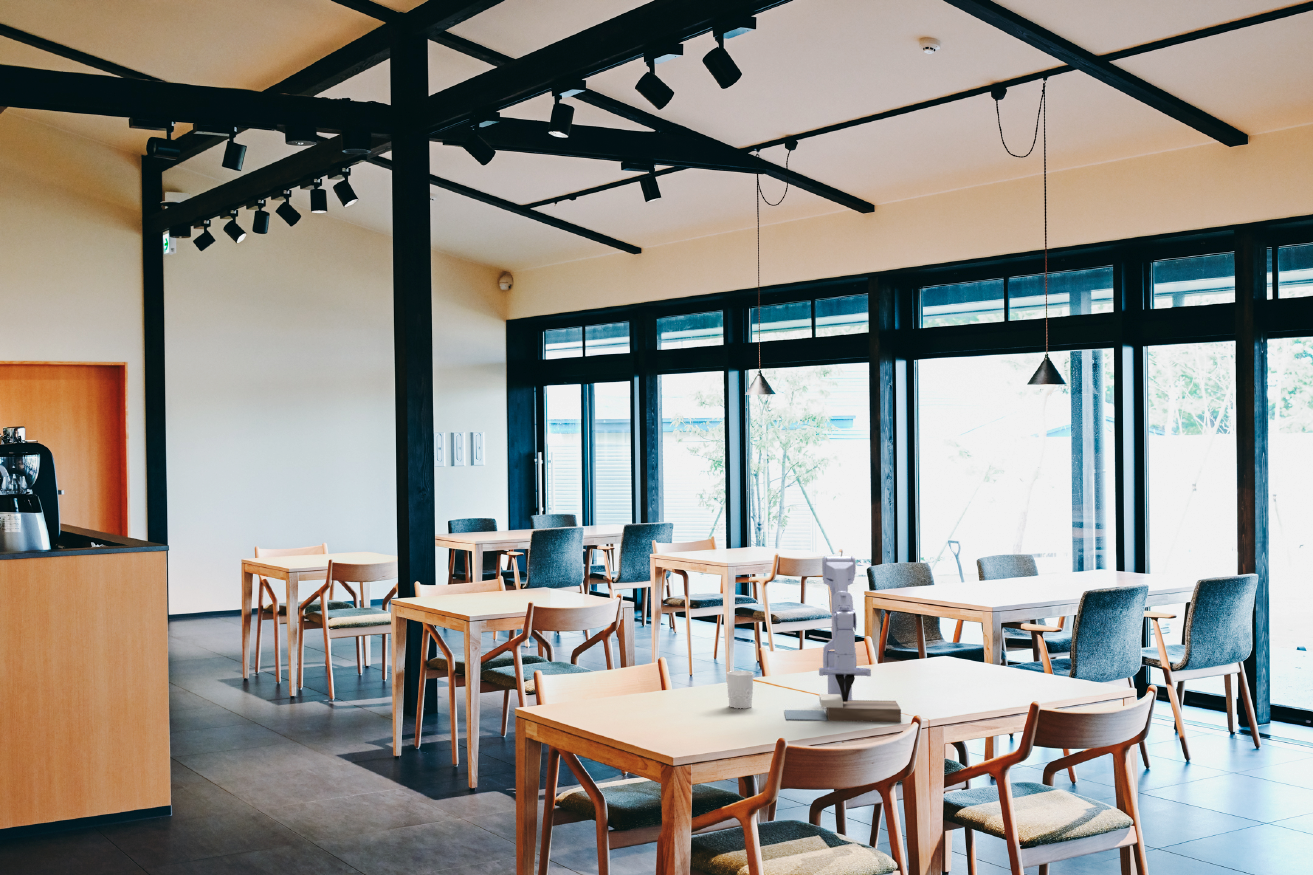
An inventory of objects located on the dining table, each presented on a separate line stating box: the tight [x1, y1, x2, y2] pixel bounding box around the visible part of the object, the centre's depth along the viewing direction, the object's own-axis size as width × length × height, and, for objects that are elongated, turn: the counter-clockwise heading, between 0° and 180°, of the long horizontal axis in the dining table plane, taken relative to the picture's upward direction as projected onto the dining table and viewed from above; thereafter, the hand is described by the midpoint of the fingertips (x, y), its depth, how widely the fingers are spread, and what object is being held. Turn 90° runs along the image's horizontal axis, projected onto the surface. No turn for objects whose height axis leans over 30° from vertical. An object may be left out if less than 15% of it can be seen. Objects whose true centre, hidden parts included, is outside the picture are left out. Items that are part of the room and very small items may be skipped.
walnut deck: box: [825, 699, 902, 723], centre depth 332 cm, size 12×20×4 cm, turn 85°
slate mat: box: [784, 709, 828, 722], centre depth 333 cm, size 12×12×1 cm
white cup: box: [726, 670, 754, 710], centre depth 347 cm, size 8×8×10 cm
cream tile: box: [818, 693, 843, 708], centre depth 333 cm, size 9×6×2 cm, turn 175°
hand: (845, 700), depth 333 cm, fingers closed
